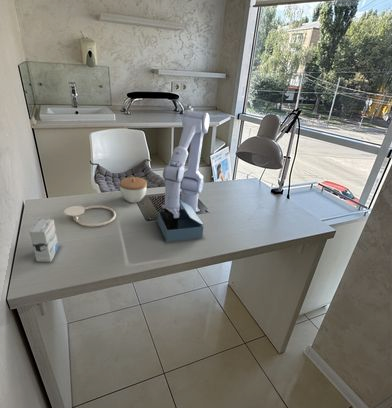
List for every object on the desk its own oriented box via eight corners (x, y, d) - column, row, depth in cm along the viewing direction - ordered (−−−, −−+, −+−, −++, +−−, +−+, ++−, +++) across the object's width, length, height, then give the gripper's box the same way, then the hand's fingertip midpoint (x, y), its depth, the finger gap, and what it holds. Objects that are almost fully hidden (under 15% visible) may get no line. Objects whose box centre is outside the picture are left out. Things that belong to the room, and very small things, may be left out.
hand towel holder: (120, 214, 120) (66, 222, 111) (120, 223, 122) (67, 232, 114) (110, 196, 133) (61, 202, 124) (111, 205, 135) (63, 211, 126)
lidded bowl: (151, 197, 146) (151, 176, 140) (139, 207, 135) (138, 185, 130) (129, 191, 149) (128, 171, 143) (115, 201, 138) (113, 180, 133)
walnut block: (164, 225, 123) (165, 211, 120) (174, 224, 125) (175, 210, 121) (167, 230, 120) (167, 217, 116) (177, 229, 121) (178, 216, 118)
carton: (157, 222, 126) (157, 211, 123) (190, 218, 130) (191, 208, 128) (166, 242, 113) (166, 230, 110) (202, 238, 118) (203, 226, 115)
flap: (178, 199, 123) (178, 198, 123) (190, 207, 127) (191, 206, 127) (189, 217, 111) (190, 217, 111) (203, 225, 115) (203, 225, 115)
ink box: (44, 246, 105) (38, 218, 99) (59, 247, 105) (54, 218, 99) (35, 261, 97) (28, 232, 91) (51, 262, 98) (44, 232, 92)
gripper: (158, 188, 119) (157, 216, 126) (166, 204, 107) (165, 235, 114) (175, 187, 121) (173, 215, 128) (185, 202, 110) (183, 233, 117)
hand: (171, 224), depth 121 cm, fingers closed on walnut block, 4 cm apart
